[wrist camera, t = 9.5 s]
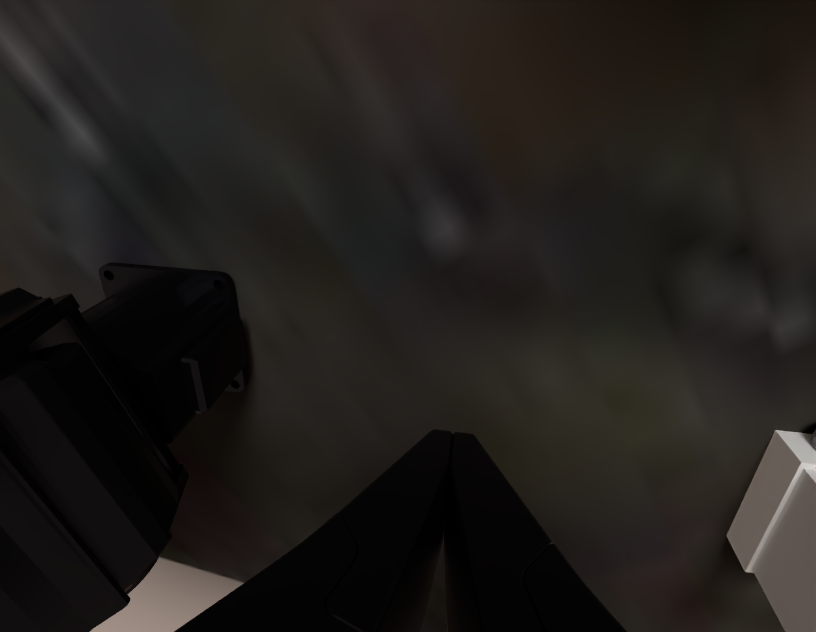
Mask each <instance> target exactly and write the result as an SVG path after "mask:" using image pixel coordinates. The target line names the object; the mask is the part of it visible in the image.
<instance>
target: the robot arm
mask: <svg viewBox="0 0 816 632" xmlns="http://www.w3.org/2000/svg"><path fill="white" fill-rule="evenodd" d="M110 271H111V272H112V273H113V275H114V277H113V276H112V275H111V273H110ZM99 276H100V279H101V283H102V286H103V290H104V293H105V297H106V299H105V300H103V301H101V302H99V303H98V304H96V305H94V306H93V307H91V308H89V309H88V310H86V311H84V312H82V313H80V311H79V310H78V308H79V307H80V306H79V304H78V303H77V301H76V300H75V298H74V296H73V295H72V294H67V295H64V296H61V297H57V298H54V299H51V298H50V297H48V298H42V297H41V296H40V297H37V296H35V295H33V294H31V293H29V292H27V291H25V290H23V289H21V288H16V289H13V290H10V291H6V292H4V293H2V294H0V632H90V631H91V630H92V629H93V628H94V627H96V626H98V625H99V624H101V623H102V622H104V621H105V620H107V619H108V618H109V617H111V616H113V615H114V614H116V613H117V612H119V611H120V610H122V609H123V608H124V607H125V606H127V605H128V603H129V602H130V597H129V596H128V595H127V594H128V593H130V592H131V591H132V590H133V589H134V588H135V587H136V586H137V585H138V584H139V583H140V582H141V581H142V580H143V579H144V577H145V576H146V575H147V574H148V573H149V572H150V570H151V569H152V567H153V566H154V564H155V563H156V562H157V560H158V558H159V556H160V555H161V554H162V552H163V551H164V550H165V548H166V547H167V545H168V544H169V541H170V539H171V536H172V534H171V532H170V527H171V524H172V522H173V519H174V516H175V513H176V510H177V508H178V505H179V502H180V499H181V496H182V494H183V491H184V488H185V485H186V482H187V480H188V477H189V474H188V472H187V470H186V469H185V467H184V466H183V465H182V464H179V463H178V462H177V460H176V458H175V457H174V455H173V454H172V452H171V451H170V449H169V448H168V446H167V445H166V444H168V443H171V442H172V441H173V440H174V439H175V438H176V437H177V435H178V434H179V433H180V432H181V431H182V430H183V429H184V427H185V426H186V425H187V424H188V423H189V422H190V420H191V419H192V418H193V417H194V416H195V415H196V413H198V414H204V413H205V412H206V411H207V410H208V409H209V408H210V407H211V406H212V405H213V403H214V402H215V401H216V400H217V399H218V397H219V396H220V395H221V394H222V393H223V391H228V392H241V391H243V390H244V388H245V387H246V386H247V384H248V379H247V372H246V366H245V365H246V364H247V355H246V348H245V342H244V335H243V328H242V321H241V319H240V318H239V316H238V312H237V305H236V299H235V292H234V285H233V281H232V278H231V277H230V276H229V275H228V274H226V273H224V272H218V271H207V270H195V269H183V268H171V267H159V266H147V265H135V264H123V263H108V264H106V265H104V266H102V267H101V268H100V269H99ZM218 280H220V281H221V282H222V283H223V284H224V287H223V286H220V285H219V283H218ZM234 380H235V381H237V382H239V384H237V383H236V382H235V381H234ZM452 438H453V440H452ZM446 503H447V504H446ZM445 514H446V516H445ZM444 524H445V527H444ZM443 533H444V565H445V588H446V612H447V632H627V631H626V630H625V629H624V628H623V627H622V626H621V624H620V623H619V622H618V621H617V620H616V619H615V618H614V617H613V616H612V615H611V613H610V612H609V611H608V610H607V609H606V608H605V606H604V605H603V604H602V603H601V602H600V601H599V600H598V598H597V597H596V596H595V595H594V594H593V593H592V591H591V590H590V589H589V588H588V587H587V586H586V584H585V583H584V582H583V581H582V579H581V578H580V577H579V576H578V574H577V573H576V572H575V570H574V569H573V568H572V567H571V565H570V564H569V563H568V561H567V560H566V559H565V557H564V556H563V555H562V553H561V552H560V551H559V549H558V548H557V546H556V545H555V544H553V543H552V541H551V539H550V538H549V537H548V535H547V534H546V533H545V531H544V530H543V528H542V527H541V526H540V524H539V523H538V522H537V520H536V519H535V517H534V516H533V515H532V513H531V512H530V511H529V509H528V508H527V507H526V505H525V504H524V502H523V501H522V500H521V498H520V497H519V496H518V494H517V493H516V491H515V490H514V489H513V487H512V486H511V485H510V483H509V482H508V481H507V479H506V478H505V476H504V475H503V474H502V472H501V471H500V470H499V468H498V467H497V465H496V464H495V463H494V461H493V460H492V459H491V457H490V456H489V455H488V453H487V452H486V450H485V449H484V448H483V446H482V445H481V444H480V442H479V441H478V439H477V438H476V437H475V436H474V435H473V434H469V433H461V432H455V433H454V434H452V432H450V431H444V430H435V429H434V430H432V431H430V432H429V433H428V434H427V435H426V436H425V437H424V438H423V439H421V440H420V441H419V442H418V443H417V444H416V445H415V446H413V447H412V448H411V449H410V450H409V451H408V452H407V453H405V454H404V455H403V456H402V457H401V458H400V459H399V460H398V461H396V462H395V463H394V464H393V465H392V466H391V467H390V468H388V469H387V470H386V471H385V472H384V473H383V474H382V475H380V476H379V477H378V478H377V479H376V480H375V481H374V482H373V483H371V484H370V485H369V486H368V487H367V488H366V489H365V490H363V491H362V492H361V493H360V494H359V495H358V496H357V497H355V498H354V499H353V500H352V501H351V502H350V503H349V504H347V505H346V506H345V507H344V508H343V509H342V510H341V511H340V512H339V513H336V514H335V515H334V516H333V517H332V518H331V519H329V520H328V521H327V522H326V523H325V524H324V525H323V526H321V527H320V528H319V529H318V530H316V531H315V532H314V533H313V534H312V535H310V536H309V537H308V538H307V539H305V540H304V541H303V542H302V543H300V544H299V545H298V546H296V547H295V548H294V549H292V550H291V551H289V552H288V553H287V554H285V555H284V556H283V557H281V558H280V559H278V560H277V561H276V562H274V563H273V564H271V565H270V566H268V567H267V568H266V569H264V570H263V571H261V572H260V573H258V574H257V575H255V576H254V577H253V578H251V579H250V580H248V581H247V582H245V583H244V584H242V585H241V586H240V587H238V588H237V589H235V590H234V591H232V592H231V593H229V594H228V595H227V596H225V597H224V598H222V599H221V600H219V601H218V602H216V603H215V604H214V605H212V606H211V607H209V608H208V609H206V610H205V611H203V612H202V613H200V614H199V615H198V616H196V617H195V618H193V619H192V620H190V621H189V622H187V623H186V624H185V625H183V626H182V627H180V628H179V629H177V630H176V631H174V632H421V629H422V624H423V620H424V616H425V612H426V608H427V604H428V599H429V595H430V591H431V587H432V583H433V579H434V574H435V570H436V566H437V562H438V558H439V554H440V549H441V545H442V540H443Z"/></svg>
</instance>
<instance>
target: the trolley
mask: <svg viewBox="0 0 816 632" xmlns="http://www.w3.org/2000/svg"><path fill="white" fill-rule="evenodd" d="M726 536H727V538H728V540H729V542H730V544H731V546H732V548H733V550H734V552H735V554H736V556H737V557H738V559H739V561H740V563H741V565H742V567H743V569H744V571H745V572H750V573H754V574H755V576H756V578H757V580H758V581H759V583H760V585H761V587H762V589H763V591H764V593H765V595H766V596H767V598H768V600H769V602H770V604H771V606H772V608H773V609H774V611H775V613H776V615H777V617H778V619H779V621H780V623H781V624H782V626H783V628H784V630H785V632H816V429H815V431H814V433H813V434H807V433H797V432H788V431H778V430H775V432H774V434H773V436H772V439H771V441H770V443H769V445H768V447H767V449H766V452H765V454H764V456H763V458H762V460H761V462H760V464H759V467H758V469H757V471H756V473H755V475H754V477H753V479H752V482H751V484H750V486H749V488H748V490H747V492H746V494H745V497H744V499H743V501H742V503H741V505H740V507H739V510H738V512H737V514H736V516H735V518H734V520H733V522H732V525H731V527H730V529H729V531H728V533H727V535H726Z"/></svg>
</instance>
